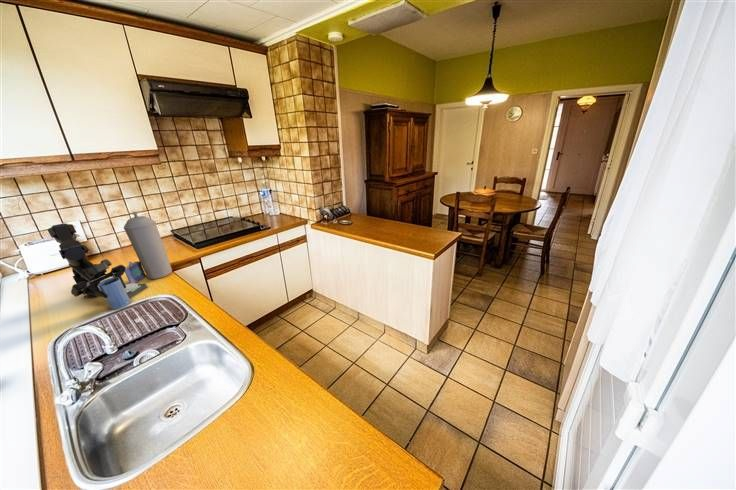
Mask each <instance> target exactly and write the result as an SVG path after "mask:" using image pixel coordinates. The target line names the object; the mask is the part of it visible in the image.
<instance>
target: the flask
mask: <svg viewBox="0 0 736 490" xmlns="http://www.w3.org/2000/svg"><path fill="white" fill-rule="evenodd" d="M127 264H128V265H127V266H125V267H126V269H125V272H124V274H125V276H126V278H127V280H128V282H129V283H128V284H131V283H138V282H140V281H141V280H142V279H144V278H146V277H147V275H146V273H145V271H144V269H143V267H142V265H141V263H140V261H139V260H135V261H133V262H132V261H127Z"/></svg>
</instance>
